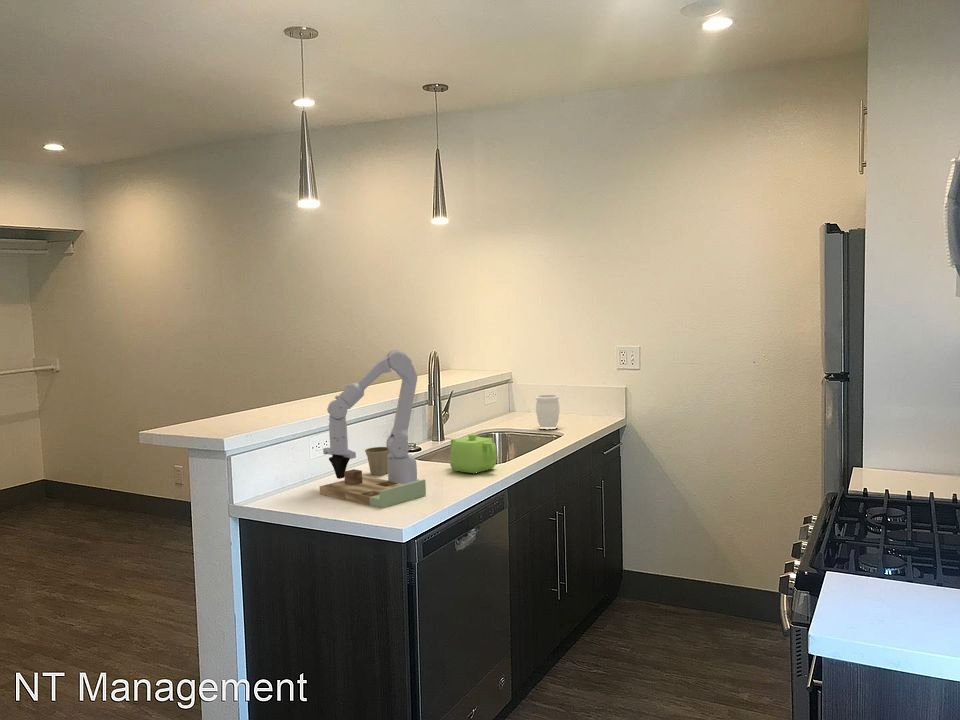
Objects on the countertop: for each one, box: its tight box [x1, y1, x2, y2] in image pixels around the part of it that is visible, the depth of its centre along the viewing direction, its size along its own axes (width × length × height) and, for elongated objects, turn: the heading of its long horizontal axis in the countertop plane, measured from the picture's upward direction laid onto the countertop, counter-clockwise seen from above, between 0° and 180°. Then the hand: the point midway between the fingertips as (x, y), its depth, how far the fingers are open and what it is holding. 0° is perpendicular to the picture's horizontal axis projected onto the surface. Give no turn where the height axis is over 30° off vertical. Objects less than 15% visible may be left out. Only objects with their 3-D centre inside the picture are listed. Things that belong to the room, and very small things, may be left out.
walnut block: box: [343, 468, 363, 485], centre depth 261 cm, size 4×4×4 cm
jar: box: [535, 394, 560, 427], centre depth 367 cm, size 11×10×15 cm
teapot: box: [449, 433, 498, 474], centre depth 287 cm, size 18×20×13 cm
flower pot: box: [364, 446, 390, 476], centre depth 286 cm, size 9×9×9 cm
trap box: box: [319, 475, 427, 509], centre depth 255 cm, size 18×30×5 cm, turn 48°
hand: (340, 477), depth 266 cm, fingers closed
